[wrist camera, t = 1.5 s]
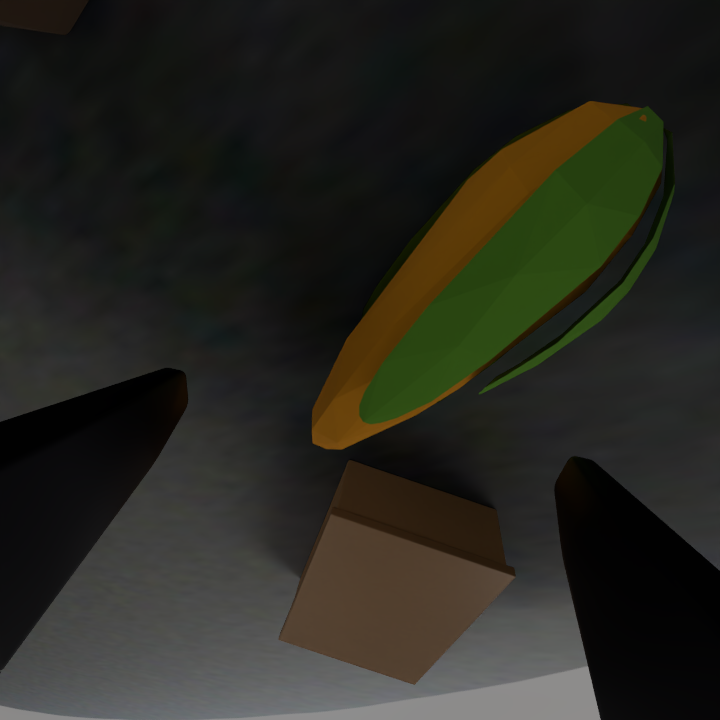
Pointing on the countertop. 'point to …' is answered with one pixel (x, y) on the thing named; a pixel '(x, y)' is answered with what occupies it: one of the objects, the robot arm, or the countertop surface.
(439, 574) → the takeaway box
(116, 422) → the robot arm
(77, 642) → the countertop surface
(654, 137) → the corn
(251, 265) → the countertop surface
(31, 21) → the beer bottle
